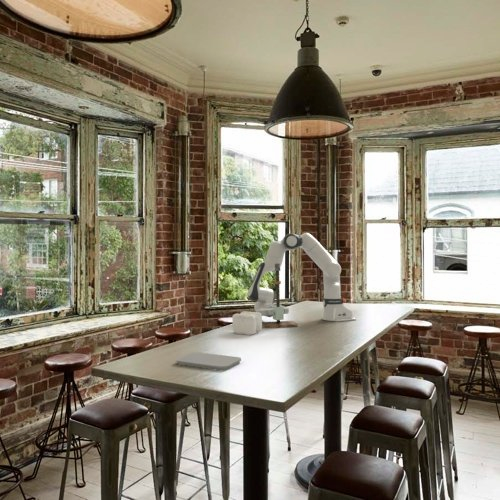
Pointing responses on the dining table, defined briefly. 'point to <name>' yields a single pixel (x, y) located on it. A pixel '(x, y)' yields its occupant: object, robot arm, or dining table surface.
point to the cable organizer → (247, 322)
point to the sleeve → (278, 313)
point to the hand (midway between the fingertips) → (278, 313)
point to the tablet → (209, 361)
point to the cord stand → (278, 323)
